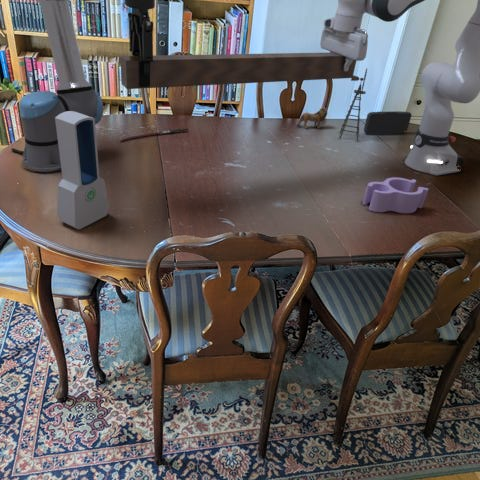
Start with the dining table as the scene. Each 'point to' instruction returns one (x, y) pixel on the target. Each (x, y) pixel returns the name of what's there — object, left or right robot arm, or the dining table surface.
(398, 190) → the clip
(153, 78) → the post
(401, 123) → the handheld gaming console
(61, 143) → the electronic device
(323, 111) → the lion figurine
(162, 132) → the sword
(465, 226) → the dining table surface
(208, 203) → the dining table surface
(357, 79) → the miniature windmill
